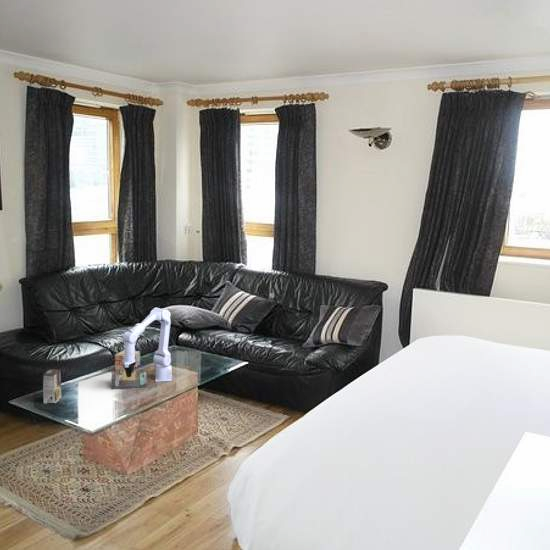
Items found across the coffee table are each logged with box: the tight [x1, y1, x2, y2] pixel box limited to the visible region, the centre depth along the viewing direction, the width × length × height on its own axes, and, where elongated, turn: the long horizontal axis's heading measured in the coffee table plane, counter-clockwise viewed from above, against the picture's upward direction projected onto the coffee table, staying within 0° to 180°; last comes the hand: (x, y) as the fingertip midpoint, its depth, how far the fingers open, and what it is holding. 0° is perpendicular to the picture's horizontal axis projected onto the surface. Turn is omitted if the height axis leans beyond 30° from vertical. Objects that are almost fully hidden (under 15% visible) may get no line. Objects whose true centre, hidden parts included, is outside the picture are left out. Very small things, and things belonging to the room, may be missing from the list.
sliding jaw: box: [139, 371, 147, 385], centre depth 348 cm, size 4×10×5 cm, turn 13°
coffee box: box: [42, 368, 62, 404], centre depth 316 cm, size 9×6×16 cm
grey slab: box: [111, 372, 148, 390], centre depth 346 cm, size 20×12×6 cm, turn 103°
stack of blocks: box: [114, 349, 141, 375], centre depth 374 cm, size 21×6×12 cm, turn 165°
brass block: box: [122, 370, 137, 380], centre depth 337 cm, size 3×7×4 cm, turn 90°
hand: (129, 375), depth 337 cm, fingers closed on brass block, 3 cm apart
